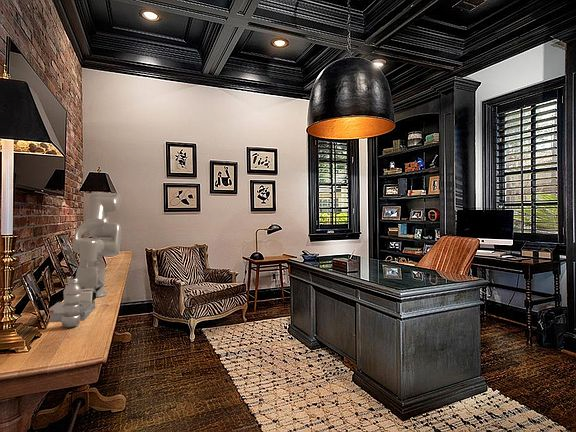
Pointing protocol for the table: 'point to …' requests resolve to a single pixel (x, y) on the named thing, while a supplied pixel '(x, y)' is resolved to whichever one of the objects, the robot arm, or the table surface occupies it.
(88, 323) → the table surface
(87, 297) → the plug
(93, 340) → the table surface
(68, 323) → the plastic bottle
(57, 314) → the socket
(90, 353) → the table surface
